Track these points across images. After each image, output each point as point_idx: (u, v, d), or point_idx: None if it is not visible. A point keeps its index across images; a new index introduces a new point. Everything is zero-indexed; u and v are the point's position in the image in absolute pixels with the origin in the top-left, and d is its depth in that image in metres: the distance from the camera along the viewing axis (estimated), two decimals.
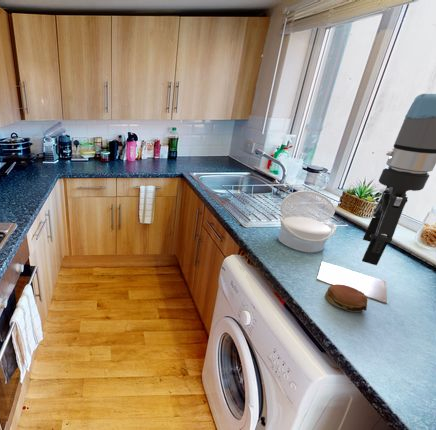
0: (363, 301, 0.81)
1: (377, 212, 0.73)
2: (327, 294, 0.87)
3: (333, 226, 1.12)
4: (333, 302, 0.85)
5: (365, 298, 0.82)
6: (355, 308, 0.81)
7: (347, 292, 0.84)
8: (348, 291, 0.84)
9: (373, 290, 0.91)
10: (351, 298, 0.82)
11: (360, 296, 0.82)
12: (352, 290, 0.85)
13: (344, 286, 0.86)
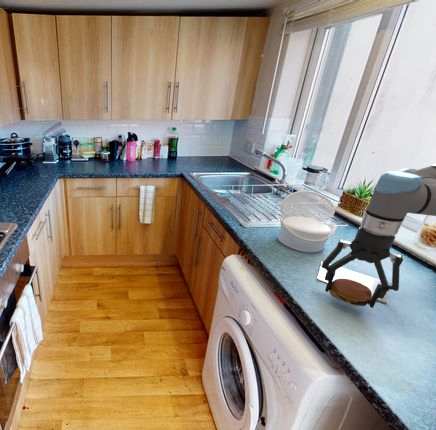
0: (367, 295, 0.80)
1: (338, 267, 0.83)
2: (330, 288, 0.86)
3: (333, 226, 1.12)
4: (337, 296, 0.84)
5: (369, 292, 0.81)
6: (359, 302, 0.80)
7: (351, 286, 0.83)
8: (352, 285, 0.83)
9: (373, 290, 0.91)
10: (355, 292, 0.81)
11: (364, 290, 0.81)
12: (356, 284, 0.84)
13: (348, 280, 0.85)
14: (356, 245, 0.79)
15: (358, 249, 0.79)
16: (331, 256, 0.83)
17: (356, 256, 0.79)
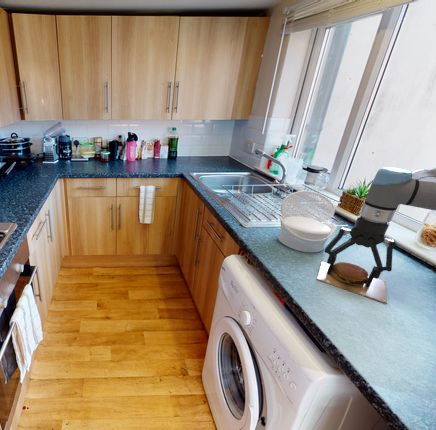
0: (364, 275, 0.92)
1: (339, 252, 0.95)
2: (332, 271, 0.98)
3: (333, 226, 1.12)
4: (337, 277, 0.95)
5: (366, 273, 0.92)
6: (357, 281, 0.92)
7: (350, 268, 0.94)
8: (351, 267, 0.95)
9: (373, 290, 0.91)
10: (354, 273, 0.92)
11: (361, 271, 0.93)
12: (354, 267, 0.95)
13: (347, 263, 0.97)
14: (355, 232, 0.90)
15: (357, 235, 0.90)
16: (333, 242, 0.95)
17: (355, 241, 0.90)
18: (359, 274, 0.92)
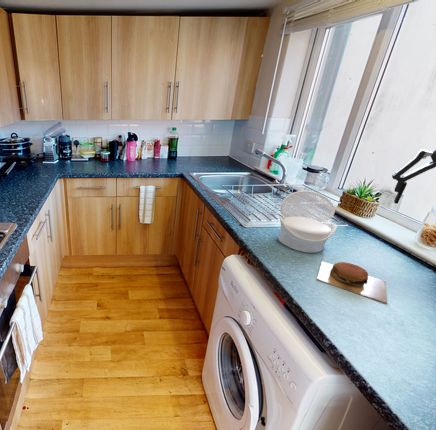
0: (364, 275, 0.92)
1: (412, 177, 0.85)
2: (332, 271, 0.98)
3: (333, 226, 1.12)
4: (337, 277, 0.95)
5: (366, 273, 0.92)
6: (357, 281, 0.92)
7: (350, 268, 0.94)
8: (351, 267, 0.95)
9: (373, 290, 0.91)
10: (354, 273, 0.92)
11: (361, 271, 0.93)
12: (354, 267, 0.95)
13: (347, 263, 0.97)
14: None
15: None
16: (407, 166, 0.85)
17: None
18: (359, 274, 0.92)
